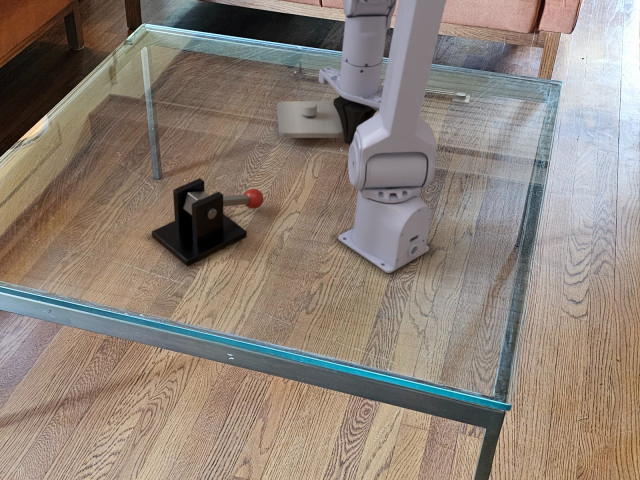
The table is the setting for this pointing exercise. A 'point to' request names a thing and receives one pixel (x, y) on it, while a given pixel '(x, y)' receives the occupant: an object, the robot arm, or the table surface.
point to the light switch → (308, 119)
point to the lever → (228, 199)
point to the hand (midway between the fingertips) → (352, 142)
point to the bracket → (198, 226)
